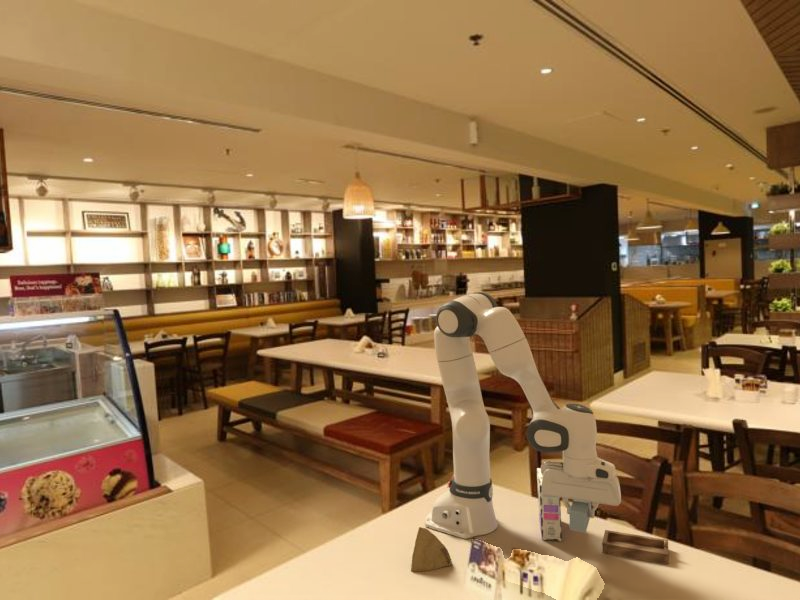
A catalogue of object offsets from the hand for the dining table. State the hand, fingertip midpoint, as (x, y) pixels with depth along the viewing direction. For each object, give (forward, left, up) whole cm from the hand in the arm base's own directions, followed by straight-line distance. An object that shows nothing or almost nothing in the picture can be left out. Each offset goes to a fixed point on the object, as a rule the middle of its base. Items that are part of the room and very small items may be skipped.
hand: (580, 515), depth 141 cm
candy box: (-11, +11, -11) cm, 19 cm away
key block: (0, 0, -2) cm, 2 cm away
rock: (-36, -20, -11) cm, 42 cm away
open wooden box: (+13, +7, -11) cm, 18 cm away
